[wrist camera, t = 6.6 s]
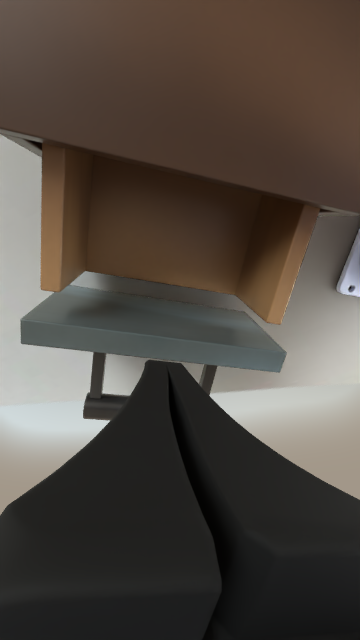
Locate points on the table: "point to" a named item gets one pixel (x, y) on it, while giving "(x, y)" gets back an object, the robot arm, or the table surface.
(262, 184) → the cabinet
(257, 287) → the drawer
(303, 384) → the table surface
